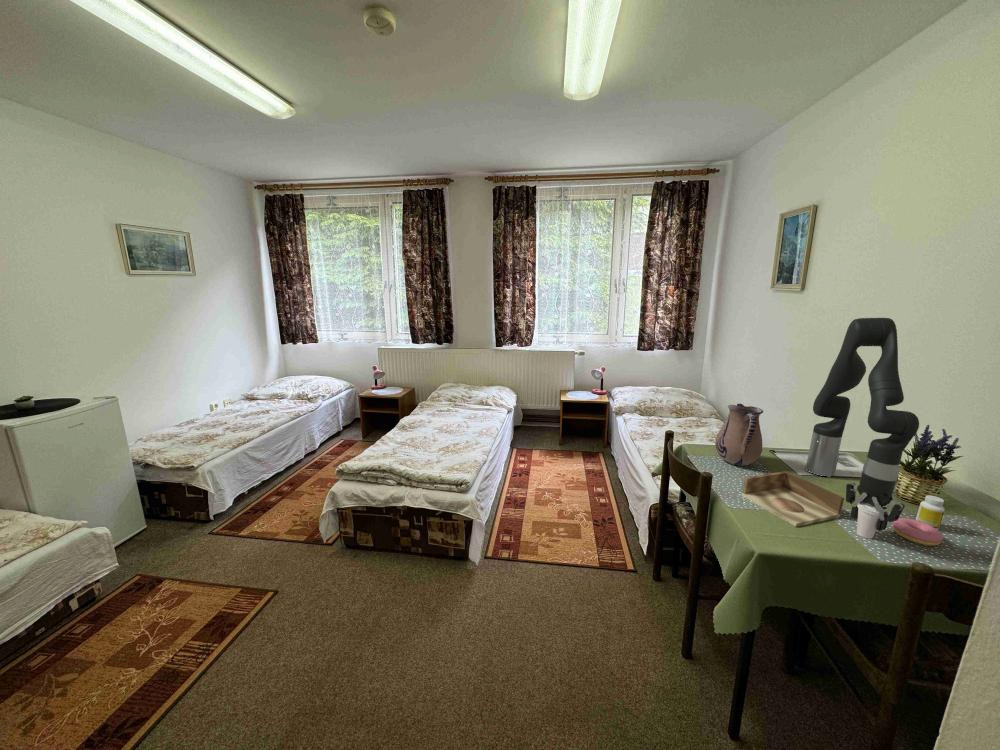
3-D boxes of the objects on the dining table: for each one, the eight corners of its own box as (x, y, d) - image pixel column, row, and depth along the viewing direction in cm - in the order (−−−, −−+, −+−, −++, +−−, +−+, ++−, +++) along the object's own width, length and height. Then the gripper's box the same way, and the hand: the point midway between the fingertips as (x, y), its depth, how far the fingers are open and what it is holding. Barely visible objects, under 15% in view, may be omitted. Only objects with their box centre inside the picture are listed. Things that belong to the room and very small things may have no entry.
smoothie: (872, 543, 118) (884, 502, 115) (846, 531, 123) (857, 491, 120) (882, 537, 121) (893, 497, 118) (856, 526, 126) (866, 487, 123)
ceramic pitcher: (746, 454, 181) (755, 402, 175) (772, 475, 160) (783, 417, 155) (706, 452, 182) (714, 400, 177) (727, 473, 162) (736, 415, 156)
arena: (782, 488, 150) (785, 471, 148) (839, 517, 131) (844, 497, 130) (741, 495, 144) (744, 477, 143) (795, 526, 126) (799, 506, 124)
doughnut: (943, 553, 114) (947, 541, 113) (890, 537, 122) (894, 525, 121) (938, 536, 122) (942, 524, 121) (889, 522, 129) (892, 510, 129)
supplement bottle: (942, 532, 124) (950, 504, 122) (918, 526, 127) (926, 499, 125) (935, 524, 129) (943, 497, 126) (912, 518, 131) (919, 492, 129)
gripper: (918, 483, 112) (903, 535, 116) (860, 462, 125) (849, 509, 129) (900, 487, 110) (886, 540, 114) (844, 465, 123) (833, 512, 127)
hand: (866, 523), depth 121 cm, fingers closed on smoothie, 6 cm apart
